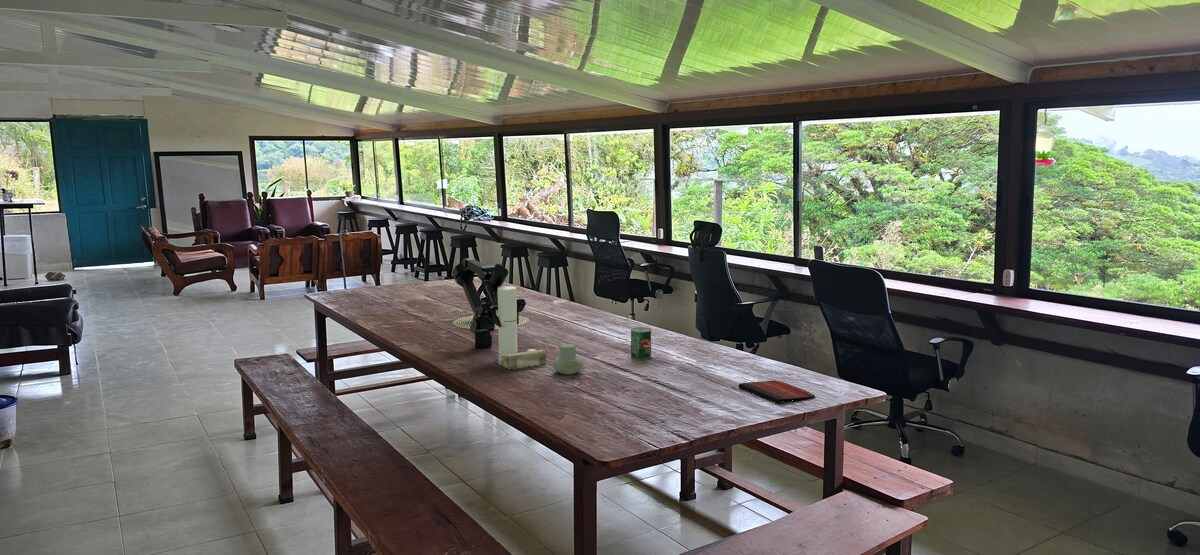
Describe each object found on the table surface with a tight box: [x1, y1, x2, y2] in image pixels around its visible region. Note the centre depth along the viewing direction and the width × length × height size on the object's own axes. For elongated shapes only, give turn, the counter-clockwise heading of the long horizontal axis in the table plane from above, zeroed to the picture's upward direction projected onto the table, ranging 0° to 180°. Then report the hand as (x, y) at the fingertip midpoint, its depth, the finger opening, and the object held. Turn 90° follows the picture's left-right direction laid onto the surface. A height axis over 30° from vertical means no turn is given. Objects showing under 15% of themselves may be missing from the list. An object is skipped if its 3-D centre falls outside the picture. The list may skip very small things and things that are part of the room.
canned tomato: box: [630, 326, 652, 360], centre depth 316 cm, size 8×8×11 cm
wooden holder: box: [497, 348, 547, 370], centre depth 308 cm, size 10×15×5 cm, turn 123°
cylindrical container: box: [497, 285, 518, 354], centre depth 315 cm, size 7×7×25 cm
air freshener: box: [552, 343, 584, 376], centre depth 295 cm, size 11×8×10 cm
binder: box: [738, 380, 816, 405], centre depth 269 cm, size 16×2×21 cm
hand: (509, 325), depth 314 cm, fingers closed on cylindrical container, 7 cm apart
